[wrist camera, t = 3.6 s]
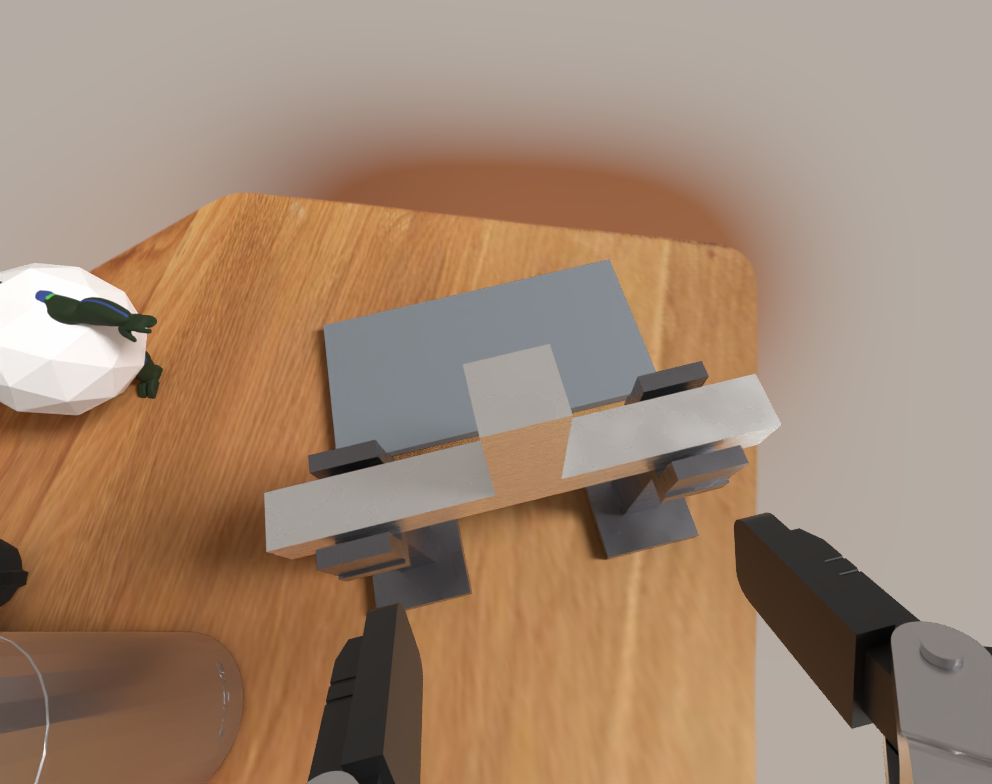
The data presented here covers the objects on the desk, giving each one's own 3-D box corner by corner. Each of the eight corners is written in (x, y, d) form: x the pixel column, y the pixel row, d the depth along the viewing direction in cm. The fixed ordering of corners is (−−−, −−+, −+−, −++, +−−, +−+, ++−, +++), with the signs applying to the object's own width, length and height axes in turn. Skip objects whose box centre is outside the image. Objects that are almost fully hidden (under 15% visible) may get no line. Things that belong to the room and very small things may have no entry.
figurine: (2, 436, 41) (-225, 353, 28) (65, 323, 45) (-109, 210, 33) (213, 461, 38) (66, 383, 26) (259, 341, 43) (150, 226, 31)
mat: (342, 468, 38) (337, 464, 37) (327, 331, 43) (323, 325, 42) (658, 392, 38) (661, 386, 38) (607, 267, 44) (609, 259, 43)
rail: (292, 559, 23) (150, 517, 15) (289, 505, 24) (155, 437, 16) (758, 444, 24) (883, 340, 15) (735, 396, 25) (840, 275, 16)
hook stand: (381, 616, 33) (281, 607, 20) (368, 510, 36) (273, 441, 23) (694, 537, 34) (795, 478, 21) (656, 439, 37) (723, 334, 24)
